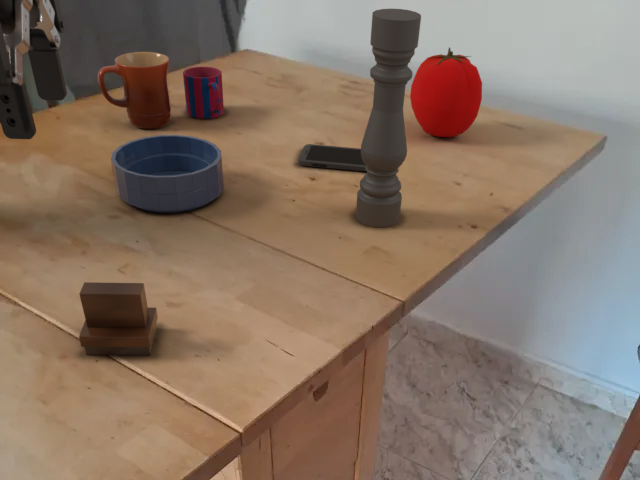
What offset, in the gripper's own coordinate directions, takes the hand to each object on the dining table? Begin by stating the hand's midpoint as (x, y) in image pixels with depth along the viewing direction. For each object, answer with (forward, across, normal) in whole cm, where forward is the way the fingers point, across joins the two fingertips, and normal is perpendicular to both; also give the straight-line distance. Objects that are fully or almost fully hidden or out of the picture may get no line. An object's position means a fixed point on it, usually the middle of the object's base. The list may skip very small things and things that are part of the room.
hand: (38, 117), depth 54 cm
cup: (+24, -72, +3) cm, 76 cm away
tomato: (+24, -67, +44) cm, 84 cm away
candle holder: (+24, -34, +31) cm, 52 cm away
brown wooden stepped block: (+24, -4, +2) cm, 24 cm away
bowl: (+24, -40, +1) cm, 47 cm away
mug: (+24, -67, -8) cm, 72 cm away
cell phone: (+24, -54, +27) cm, 65 cm away
